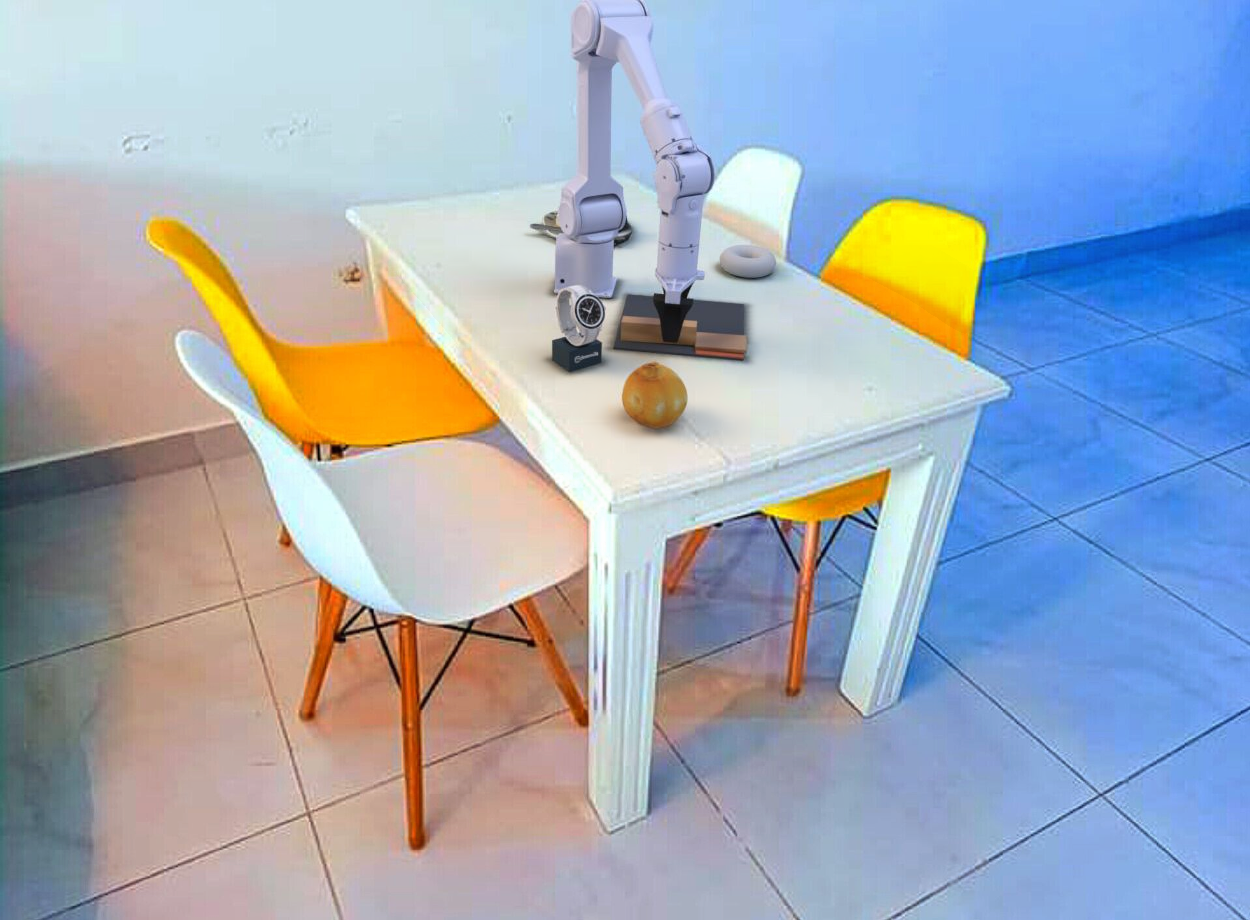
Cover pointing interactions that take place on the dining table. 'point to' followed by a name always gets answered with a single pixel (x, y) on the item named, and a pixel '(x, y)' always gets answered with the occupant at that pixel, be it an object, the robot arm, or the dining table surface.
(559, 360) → the watch
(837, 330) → the dining table surface
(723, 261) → the donut
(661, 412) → the fruit
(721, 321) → the corner mat
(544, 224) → the salad plate
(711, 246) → the dining table surface
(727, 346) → the spatula
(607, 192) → the robot arm
